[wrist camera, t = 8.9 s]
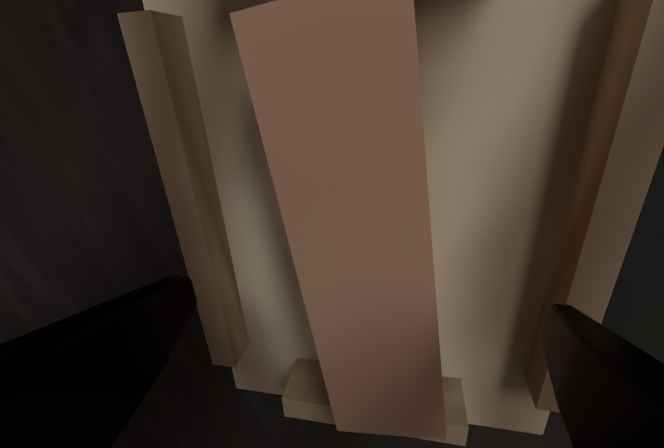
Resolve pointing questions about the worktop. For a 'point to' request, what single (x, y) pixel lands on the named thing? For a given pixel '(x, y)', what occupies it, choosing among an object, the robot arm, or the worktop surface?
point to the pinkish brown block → (353, 199)
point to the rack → (443, 187)
